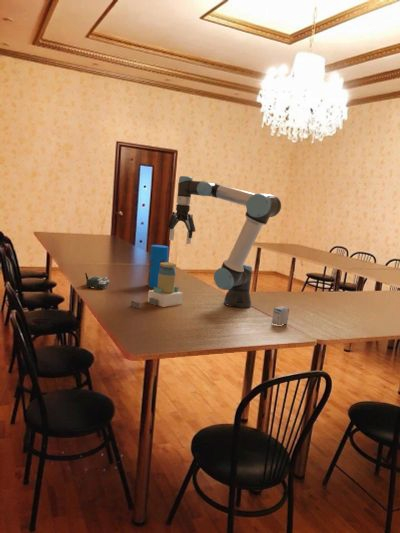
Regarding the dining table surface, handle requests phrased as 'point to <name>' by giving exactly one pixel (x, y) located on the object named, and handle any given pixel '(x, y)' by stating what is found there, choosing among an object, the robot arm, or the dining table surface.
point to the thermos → (156, 263)
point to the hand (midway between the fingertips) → (179, 242)
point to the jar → (167, 277)
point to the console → (162, 298)
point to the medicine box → (280, 315)
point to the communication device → (97, 282)
